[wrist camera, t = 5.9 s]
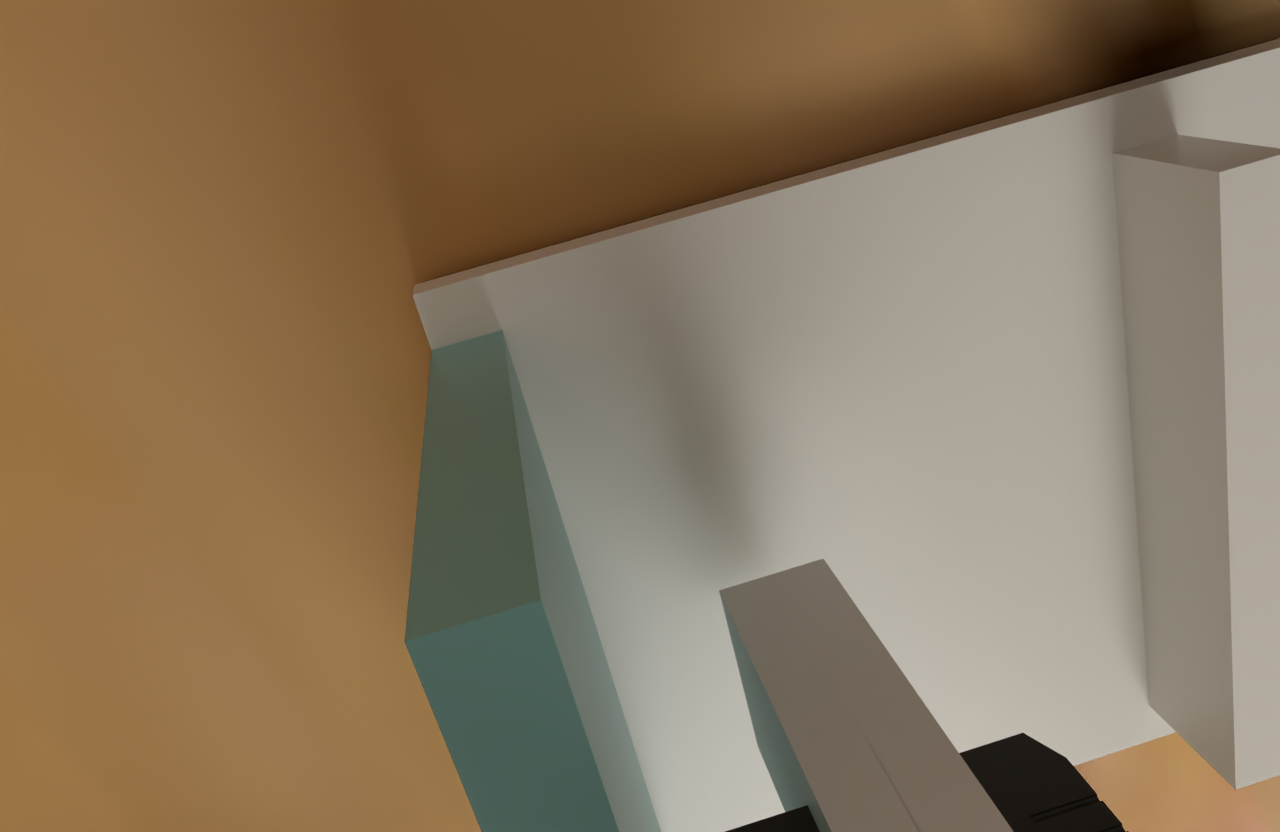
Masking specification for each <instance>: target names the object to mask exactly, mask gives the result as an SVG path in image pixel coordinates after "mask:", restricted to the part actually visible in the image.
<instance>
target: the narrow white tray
mask: <svg viewBox="0 0 1280 832" xmlns="http://www.w3.org/2000/svg"><path fill="white" fill-rule="evenodd" d="M412 296H413V298H414V301H415V304H416V307H417V310H418V313H419V316H420V319H421V321H422V324H423V327H424V330H425V333H426V336H427V339H428V342H429V345H430V347H431V361H430V372H429V383H428V394H427V405H426V416H425V426H424V437H423V448H422V459H421V470H420V481H419V492H418V503H417V513H416V524H415V535H414V546H413V557H412V568H411V579H410V590H409V600H408V611H407V622H406V633H405V644H406V646H407V649H408V651H409V654H410V656H411V658H412V661H413V663H414V666H415V668H416V671H417V673H418V676H419V678H420V681H421V683H422V686H423V688H424V691H425V693H426V695H427V698H428V700H429V703H430V705H431V708H432V710H433V713H434V715H435V718H436V720H437V723H438V725H439V728H440V730H441V732H442V735H443V737H444V740H445V742H446V745H447V747H448V750H449V752H450V755H451V757H452V760H453V762H454V764H455V767H456V769H457V772H458V774H459V777H460V779H461V782H462V784H463V787H464V789H465V792H466V794H467V797H468V799H469V801H470V804H471V806H472V809H473V811H474V814H475V816H476V819H477V821H478V824H479V826H480V829H481V831H482V832H725V831H728V830H731V829H735V828H738V827H741V826H744V825H747V824H750V823H753V822H756V821H759V820H763V819H766V818H769V817H772V816H775V815H778V814H781V813H784V812H785V810H784V808H783V805H782V803H781V801H780V798H779V796H778V793H777V791H776V789H775V786H774V784H773V781H772V779H771V777H770V774H769V772H768V770H767V767H766V765H765V762H764V760H763V758H762V755H761V753H760V750H759V748H758V745H757V741H756V737H755V733H754V729H753V725H752V721H751V717H750V713H749V709H748V705H747V701H746V697H745V693H744V689H743V685H742V681H741V677H740V673H739V669H738V665H737V661H736V657H735V653H734V649H733V645H732V641H731V637H730V633H729V629H728V625H727V621H726V617H725V613H724V609H723V605H722V601H721V597H720V593H719V590H722V589H725V588H728V587H732V586H735V585H738V584H742V583H745V582H748V581H751V580H755V579H758V578H761V577H764V576H768V575H771V574H774V573H778V572H781V571H784V570H787V569H791V568H794V567H797V566H800V565H804V564H807V563H810V562H814V561H817V560H820V559H824V560H825V561H826V563H827V564H828V566H829V567H830V569H831V570H832V571H833V573H834V574H835V576H836V577H837V579H838V580H839V582H840V583H841V584H842V586H843V587H844V589H845V590H846V592H847V593H848V594H849V596H850V597H851V599H852V600H853V602H854V603H855V605H856V606H857V607H858V609H859V610H860V612H861V613H862V615H863V616H864V617H865V619H866V620H867V622H868V623H869V625H870V626H871V628H872V629H873V630H874V632H875V633H876V635H877V636H878V638H879V639H880V640H881V642H882V643H883V645H884V646H885V648H886V649H887V650H888V652H889V653H890V655H891V656H892V658H893V659H894V661H895V662H896V663H897V665H898V666H899V668H900V669H901V671H902V672H903V673H904V675H905V676H906V678H907V679H908V681H909V682H910V684H911V685H912V686H913V688H914V689H915V691H916V692H917V694H918V695H919V696H920V698H921V699H922V701H923V702H924V704H925V705H926V707H927V708H928V709H929V711H930V712H931V714H932V715H933V717H934V718H935V719H936V721H937V722H938V724H939V725H940V727H941V728H942V730H943V731H944V732H945V734H946V735H947V737H948V738H949V740H950V741H951V742H952V744H953V745H954V747H955V748H956V750H957V751H958V753H961V752H964V751H967V750H970V749H974V748H977V747H980V746H983V745H986V744H989V743H992V742H995V741H998V740H1002V739H1005V738H1008V737H1011V736H1014V735H1017V734H1020V733H1025V734H1026V735H1028V736H1030V737H1031V738H1033V739H1035V740H1037V741H1038V742H1040V743H1042V744H1043V745H1045V746H1047V747H1049V748H1050V749H1052V750H1054V751H1056V752H1057V753H1059V754H1061V755H1062V756H1064V757H1066V758H1067V759H1068V760H1069V762H1070V763H1071V764H1072V765H1073V766H1075V765H1078V764H1081V763H1084V762H1087V761H1090V760H1093V759H1096V758H1099V757H1102V756H1105V755H1108V754H1111V753H1114V752H1117V751H1120V750H1123V749H1126V748H1129V747H1133V746H1136V745H1139V744H1142V743H1145V742H1148V741H1151V740H1154V739H1157V738H1160V737H1163V736H1166V735H1169V734H1172V733H1175V732H1177V733H1178V734H1179V735H1180V736H1181V737H1182V738H1183V739H1184V740H1185V741H1186V742H1187V743H1188V744H1189V745H1190V746H1191V747H1192V748H1193V749H1194V750H1195V751H1196V752H1197V753H1198V754H1199V755H1200V756H1201V757H1202V758H1203V759H1204V760H1206V761H1207V762H1208V763H1209V764H1210V765H1211V766H1212V767H1213V768H1214V769H1215V770H1216V771H1217V772H1218V773H1219V774H1220V775H1221V776H1222V777H1223V778H1224V779H1225V780H1226V781H1227V782H1228V783H1229V784H1230V785H1231V786H1232V787H1233V788H1234V789H1235V790H1237V789H1240V788H1243V787H1246V786H1249V785H1252V784H1255V783H1258V782H1261V781H1264V780H1267V779H1270V778H1273V777H1276V776H1279V775H1280V38H1279V39H1276V40H1272V41H1269V42H1265V43H1262V44H1258V45H1255V46H1251V47H1248V48H1244V49H1241V50H1237V51H1234V52H1230V53H1227V54H1223V55H1220V56H1216V57H1213V58H1209V59H1206V60H1202V61H1199V62H1195V63H1191V64H1188V65H1184V66H1181V67H1177V68H1174V69H1170V70H1167V71H1163V72H1160V73H1156V74H1153V75H1149V76H1146V77H1142V78H1139V79H1135V80H1132V81H1128V82H1125V83H1121V84H1118V85H1114V86H1111V87H1107V88H1104V89H1100V90H1097V91H1093V92H1090V93H1086V94H1083V95H1079V96H1076V97H1072V98H1069V99H1065V100H1062V101H1058V102H1055V103H1051V104H1048V105H1044V106H1041V107H1037V108H1034V109H1030V110H1027V111H1023V112H1020V113H1016V114H1012V115H1009V116H1005V117H1002V118H998V119H995V120H991V121H988V122H984V123H981V124H977V125H974V126H970V127H967V128H963V129H960V130H956V131H953V132H949V133H946V134H942V135H939V136H935V137H932V138H928V139H925V140H921V141H918V142H914V143H911V144H907V145H904V146H900V147H897V148H893V149H890V150H886V151H883V152H879V153H876V154H872V155H869V156H865V157H862V158H858V159H855V160H851V161H848V162H844V163H841V164H837V165H833V166H830V167H826V168H823V169H819V170H816V171H812V172H809V173H805V174H802V175H798V176H795V177H791V178H788V179H784V180H781V181H777V182H774V183H770V184H767V185H763V186H760V187H756V188H753V189H749V190H746V191H742V192H739V193H735V194H732V195H728V196H725V197H721V198H718V199H714V200H711V201H707V202H704V203H700V204H697V205H693V206H690V207H686V208H683V209H679V210H676V211H672V212H669V213H665V214H662V215H658V216H655V217H651V218H647V219H644V220H640V221H637V222H633V223H630V224H626V225H623V226H619V227H616V228H612V229H609V230H605V231H602V232H598V233H595V234H591V235H588V236H584V237H581V238H577V239H574V240H570V241H567V242H563V243H560V244H556V245H553V246H549V247H546V248H542V249H539V250H535V251H532V252H528V253H525V254H521V255H518V256H514V257H511V258H507V259H504V260H500V261H497V262H493V263H490V264H486V265H483V266H479V267H476V268H472V269H468V270H465V271H461V272H458V273H454V274H451V275H447V276H444V277H440V278H437V279H433V280H430V281H426V282H423V283H419V284H416V285H414V289H413V294H412Z"/></svg>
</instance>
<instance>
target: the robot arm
mask: <svg viewBox="0 0 1280 832" xmlns="http://www.w3.org/2000/svg"><path fill="white" fill-rule="evenodd" d="M719 593H720V597H721V601H722V605H723V609H724V613H725V617H726V621H727V625H728V629H729V633H730V637H731V641H732V645H733V649H734V653H735V657H736V661H737V665H738V669H739V673H740V677H741V681H742V685H743V689H744V693H745V697H746V701H747V705H748V709H749V713H750V717H751V721H752V725H753V729H754V733H755V737H756V741H757V745H758V748H759V750H760V753H761V755H762V758H763V760H764V762H765V765H766V767H767V770H768V772H769V774H770V777H771V779H772V781H773V784H774V786H775V789H776V791H777V793H778V796H779V798H780V801H781V803H782V805H783V808H784V810H785V812H784V813H781V814H778V815H775V816H772V817H769V818H766V819H763V820H759V821H756V822H753V823H750V824H747V825H744V826H741V827H738V828H735V829H731V830H728V831H725V832H1125V830H1124V829H1123V827H1122V823H1121V822H1120V821H1119V820H1118V819H1117V817H1116V816H1115V815H1114V814H1113V813H1112V812H1111V810H1110V809H1109V808H1108V807H1107V806H1106V804H1105V803H1104V802H1103V801H1099V799H1098V797H1097V794H1096V792H1095V791H1094V790H1093V789H1092V788H1091V787H1090V785H1089V784H1088V783H1087V782H1086V781H1085V779H1084V778H1083V777H1082V776H1081V775H1080V773H1079V772H1078V771H1077V770H1076V769H1075V767H1074V766H1073V765H1072V764H1071V763H1070V762H1069V760H1068V759H1067V758H1066V757H1064V756H1062V755H1061V754H1059V753H1057V752H1056V751H1054V750H1052V749H1050V748H1049V747H1047V746H1045V745H1043V744H1042V743H1040V742H1038V741H1037V740H1035V739H1033V738H1031V737H1030V736H1028V735H1026V734H1025V733H1020V734H1017V735H1014V736H1011V737H1008V738H1005V739H1002V740H998V741H995V742H992V743H989V744H986V745H983V746H980V747H977V748H974V749H970V750H967V751H964V752H961V753H958V751H957V750H956V748H955V747H954V745H953V744H952V742H951V741H950V740H949V738H948V737H947V735H946V734H945V732H944V731H943V730H942V728H941V727H940V725H939V724H938V722H937V721H936V719H935V718H934V717H933V715H932V714H931V712H930V711H929V709H928V708H927V707H926V705H925V704H924V702H923V701H922V699H921V698H920V696H919V695H918V694H917V692H916V691H915V689H914V688H913V686H912V685H911V684H910V682H909V681H908V679H907V678H906V676H905V675H904V673H903V672H902V671H901V669H900V668H899V666H898V665H897V663H896V662H895V661H894V659H893V658H892V656H891V655H890V653H889V652H888V650H887V649H886V648H885V646H884V645H883V643H882V642H881V640H880V639H879V638H878V636H877V635H876V633H875V632H874V630H873V629H872V628H871V626H870V625H869V623H868V622H867V620H866V619H865V617H864V616H863V615H862V613H861V612H860V610H859V609H858V607H857V606H856V605H855V603H854V602H853V600H852V599H851V597H850V596H849V594H848V593H847V592H846V590H845V589H844V587H843V586H842V584H841V583H840V582H839V580H838V579H837V577H836V576H835V574H834V573H833V571H832V570H831V569H830V567H829V566H828V564H827V563H826V561H825V560H824V559H820V560H817V561H814V562H810V563H807V564H804V565H800V566H797V567H794V568H791V569H787V570H784V571H781V572H778V573H774V574H771V575H768V576H764V577H761V578H758V579H755V580H751V581H748V582H745V583H742V584H738V585H735V586H732V587H728V588H725V589H722V590H719ZM1127 832H1128V831H1127Z"/></svg>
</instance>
